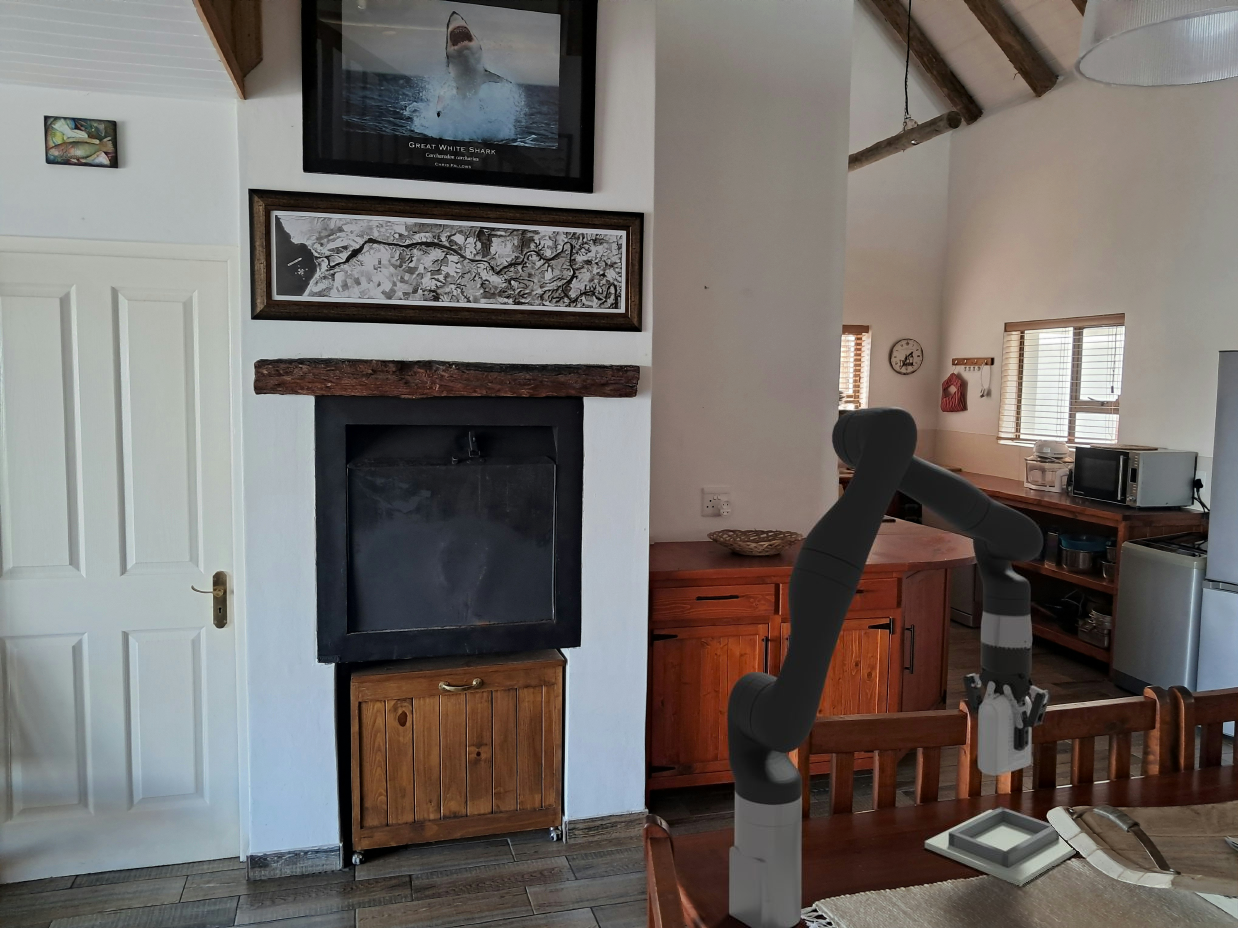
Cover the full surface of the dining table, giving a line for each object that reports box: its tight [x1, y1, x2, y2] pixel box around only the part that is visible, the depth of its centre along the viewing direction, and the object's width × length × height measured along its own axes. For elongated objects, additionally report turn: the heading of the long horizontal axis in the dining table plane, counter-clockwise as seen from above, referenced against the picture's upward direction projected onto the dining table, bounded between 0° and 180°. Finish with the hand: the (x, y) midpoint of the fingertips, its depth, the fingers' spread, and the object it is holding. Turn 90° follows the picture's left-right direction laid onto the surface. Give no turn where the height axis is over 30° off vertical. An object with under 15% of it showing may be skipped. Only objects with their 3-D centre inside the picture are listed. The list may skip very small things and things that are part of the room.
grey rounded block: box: [977, 693, 1033, 777], centre depth 143 cm, size 10×4×12 cm, turn 124°
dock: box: [924, 806, 1076, 888], centre depth 144 cm, size 20×16×3 cm
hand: (1004, 744), depth 143 cm, fingers closed on grey rounded block, 4 cm apart
